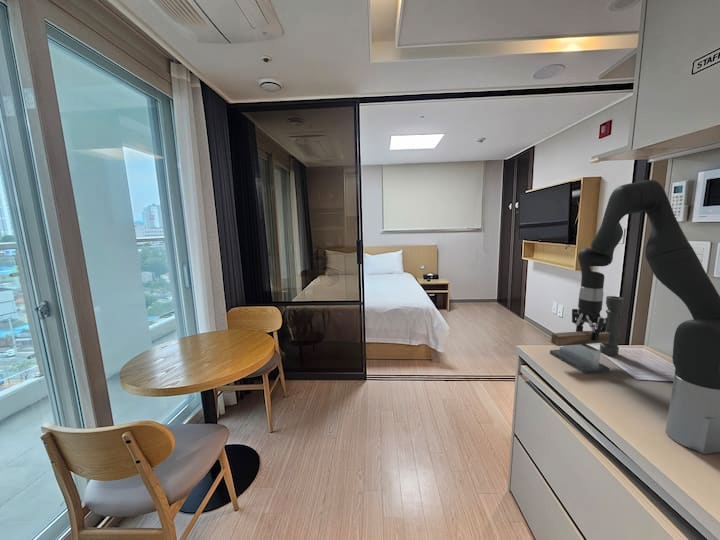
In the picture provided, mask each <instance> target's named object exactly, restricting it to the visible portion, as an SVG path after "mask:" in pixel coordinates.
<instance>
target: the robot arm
mask: <svg viewBox="0 0 720 540" xmlns="http://www.w3.org/2000/svg"><path fill="white" fill-rule="evenodd" d="M639 213H645V214H646V216H647V218H648V219H649V224H650V227H651V228H650V234H649V237H648V239H647V243H646V246H645V249H644V251H645V253H644V254H645V258H646V261H647V263H648V265H649V267H650V270H651V271H652V273H653V275H654V276H655V278H656V279H657V280H659V282H660V283H662V285H663V286H665V287H666V288H667V289H668V290H669V291H671V293H673V294H675V296H676V297H678V298H679V299H680V300H681V301H682V302H683V304H684V305H685V306H686V308H687V309H688V311H689V313H690V315H691V317H692V319H688V320H685V321H683V322H681V323H680V324H678V326H677V327H676V329H675V333H674V336H673V347H672V364H673V366H674V368H675V369H674V376H673V383H672V387H671V393H670V394H671V395H670V402H669V407H668V411H667V412H668V414H667V420H666V425H665V433H666V435H667V436H668V437H669V438H670V439H671V440H673V441H674V442H676V443H678V444H679V445H681V446H683V447H686V448H688V449H691V450H694V451H696V452H698V453H700V454H702V455H710V454H715V453H720V294H719V293H718V291H717V289H716V287H715V286H714V284H713V282H712V281H711V278H710V277H709V276H708V273H707V272H706V271H705V269H704V267H703V264H702V262H701V260H700V259H699V257H698V256H697V253H696V252H695V250H694V248H693V247H692V245H691V244H690V241H688V239H687V237H686V235H685V233H684V231H683V229H682V228H681V225H680V224H679V222H678V220H677V218H676V215H675V212H674V210H673V208H672V205H671V203H670V200H669V197H668V195H667V193H666V190H665V189H664V187H663V186H662V185H661V183H660V182H658V181H657V180H654V179H645V180H640V181H636V182H630V183H625V184H623V185H619V186H617V187H616V188H614V190H613V191H612V192H611V193H610V197H609V198H608V201H607V205H606V207H605V211H604V214H603V218H602V221H601V224H600V226H599V229H598V231H597V232H596V234H595V236H594V238H593V240H592V241H591V244H590V246H591V248H590V247H585V248H582V249H581V250H580V251H579V253H578V254H577V260H578V264H579V267H580V268H579V269H580V273H581V282H580V288H579V293H578V304H577V307H578V308H573V309H571V322H572V323H573V324H575V326H576V329H575V332H579V331H584V324H585V323H587V324H588V326H589V327H590V328H591V331H593V332H592V337H591V341H598V339H599V333H601V332H605V330H606V326H607V322H608V319H607V317H602V316H601V314H600V313H601V312H602V310H603V302H604V285H605V274H604V273H602V272H598V271H594V270H592V268H591V267H607V266H610V264H612V263H613V259H614V251H615V249H616V247H617V246H618V244H619V243H620V242H621V240H622V238H623V235H624V229H623V227H622V225H621V223H620V222H621V220H622V219H623V218H624V217H625V216H627V215H633V214H634V215H635V214H639Z"/></svg>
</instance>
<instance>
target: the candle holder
mask: <svg viewBox="0 0 720 540" xmlns="http://www.w3.org/2000/svg"><path fill="white" fill-rule="evenodd" d="M605 298H606V299H605V304H606V305H605V306H606V308H607V309H605V313H606V318H607V319H608V322H607V326H606V330H605V331H606V332H608V333H610V336H609V342H608V343H599V350H600V354H602V353H603V355H605V356H609V357H617V356H619V351H620V350H619V348H620V347H619V343H618V341H617V340H618V339H619V338H620V337H621V330H620V329H621V328H620V324H619V319H620V315H622V311H621V309H622V308H623V307H624V303H625V302H624V301H625V298H624V297H621V296H615V295H614V296H613V295H607V296H606V297H605Z"/></svg>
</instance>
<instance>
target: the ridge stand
mask: <svg viewBox="0 0 720 540" xmlns="http://www.w3.org/2000/svg"><path fill="white" fill-rule="evenodd" d="M549 354H550V355H551V356H553V357H555V358H557V359H559V360H560V359H561V360H560V361H562V362H564V363H566V364H567V365H569V366H571V367H573V368H574V369H576V370H577V371H579V372H581V371H582V372H581V373H583V374H585V375H589V374H592V375H593V374H602V373H610V370H611V368H610V367H608V366H607V365H604V364H603V363H600V359H601V352H600V349H598V348H595V347H593V346H591V345H590V344H580V345H566V346H563V347H560V346H559V349H550V350H549Z"/></svg>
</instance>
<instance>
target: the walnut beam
mask: <svg viewBox="0 0 720 540" xmlns="http://www.w3.org/2000/svg"><path fill="white" fill-rule="evenodd" d="M592 332H593V331H592V330H583V331H579V332H576V331H569V332H568V331H566V332H552V333H551V341H550V343H551V344H553V345H555V346H556V347H560V346H566V345H580V344H587V345H593V344H601V343H608V342H609V336H610V333H608V332H606V331H605V332H601V333H599V339H598V341H591V337H592Z"/></svg>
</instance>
